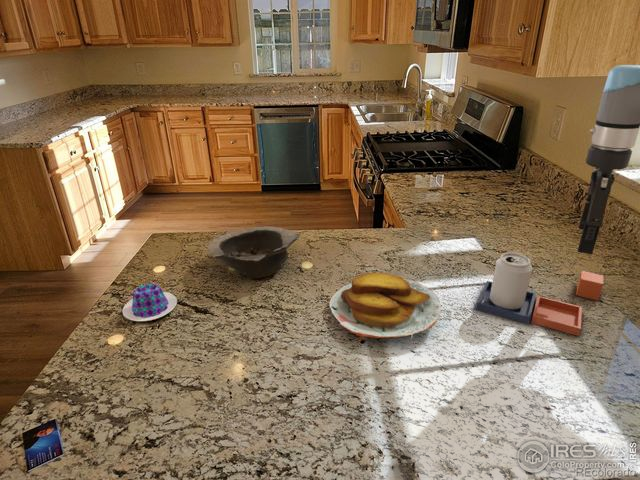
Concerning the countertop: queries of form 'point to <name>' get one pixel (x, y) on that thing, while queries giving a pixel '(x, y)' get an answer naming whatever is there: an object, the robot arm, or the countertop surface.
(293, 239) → the stone bowl
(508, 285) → the can
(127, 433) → the countertop surface
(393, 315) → the food on plate
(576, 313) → the terracotta tray
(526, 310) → the navy tray
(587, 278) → the block
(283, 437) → the countertop surface
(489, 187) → the countertop surface
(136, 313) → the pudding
